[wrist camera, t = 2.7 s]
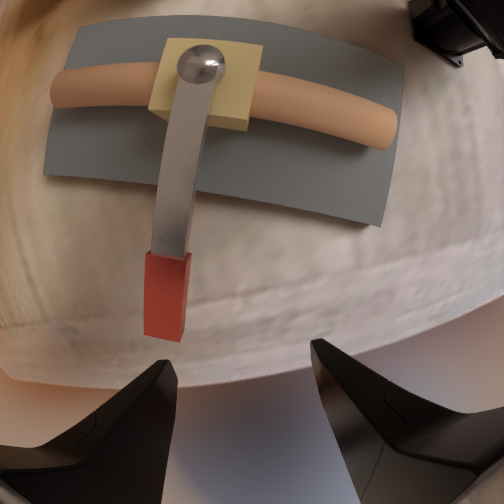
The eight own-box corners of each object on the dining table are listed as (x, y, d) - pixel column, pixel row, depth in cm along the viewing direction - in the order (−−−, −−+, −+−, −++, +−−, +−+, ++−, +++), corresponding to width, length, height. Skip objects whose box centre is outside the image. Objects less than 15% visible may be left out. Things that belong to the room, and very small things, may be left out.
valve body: (395, 70, 17) (435, 48, 11) (372, 223, 21) (412, 242, 15) (87, 32, 15) (53, 8, 9) (52, 173, 19) (6, 178, 13)
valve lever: (187, 52, 12) (182, 42, 10) (230, 55, 12) (229, 44, 10) (149, 322, 16) (142, 334, 15) (185, 330, 16) (181, 342, 15)
